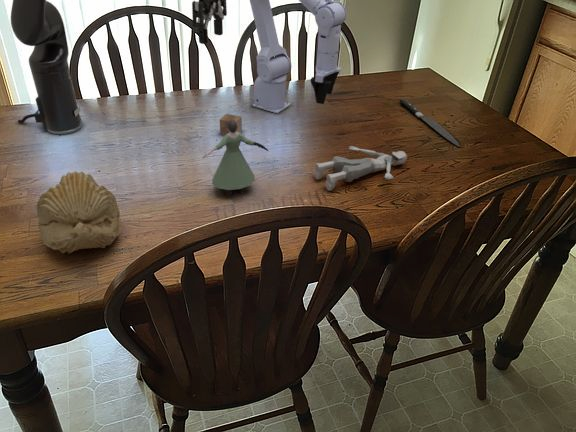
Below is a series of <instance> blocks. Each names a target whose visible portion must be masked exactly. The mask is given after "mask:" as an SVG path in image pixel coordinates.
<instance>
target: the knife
mask: <svg viewBox="0 0 576 432" xmlns="http://www.w3.org/2000/svg"><path fill="white" fill-rule="evenodd" d="M398 101H399V103H400V104H402V105H403V106H404V107H405V108H406V109H407V110H409V111H410V112H411V113H412V114H413V115H414V116H416V118H418V119H421V120H422V121H423V122H425V123H426V124H427V125H428V126H429V127H430V128H432V129H433V130H434V131H435V132H436V133H438V134H439V135H441V136H442V137H443V138H445V139H446V140H447V141H449V143H451V144H453V145H455V146H457V147H461V145H460V143H459V142H458V141H457V140H456V138H455V137H454V136H453V135H452V134H450V132H448V130H446V129H445V128H444V127H443V126H441V125H440V124H439V123H438V122H437V121H436V120H435V119H433V118H432V117H430V116H429V117H428V116H425V115H424V114H423V113H422V112H421V111H420V110H419V109H418V108H417V107H415V106H414V105H413V104H412V103H411V101H410V100H408V99H404V98H399V99H398Z"/></svg>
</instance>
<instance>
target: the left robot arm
mask: <svg viewBox="0 0 576 432" xmlns="http://www.w3.org/2000/svg"><path fill="white" fill-rule="evenodd" d="M227 8H228V7H227V0H198V1H197V0H196V1H194V0H193V1H192V2H191V13H192V16H191V17H192V27H193V28H196V29H197V30H198V43H199V44H201V45H208V43H209V30H208V27H209V22H211V21H212V18H213V33H214V35H216V36H222V35H223V33H224V27H223V26H224V24H223V21H224V19H225V17H227V15H228V11H227ZM10 26H11V29H12V32H13V34H14V36H15V38H16V39H17V40H18V41H19V42H20V43H21V44H23V45H25V46H28V47H33V49H32V52H31V54H30V55H29V57H28V65H29V68H30V72H31V76H32V80H33V83H34V86H35V91H36V94H37V96H36V97H35V104H36V106H37V110H36V112H34V113H31V114H27V115H24V116H23V117H22V118H21V119H18V120H17V123H19V124H22V123H25V122H26V120H27V119H30V118H34V121H35V123H36V124H41V125H42V128H43V131H44V132H48V133H49V134H53V135H67V134H72V133H74V132H77V131H79V130H80V129H81V128H82V126H83V121H82V119H81V118H82V117H81V115H80V113H81V111H82V110H81V106H80V105H78V101H77V97H76V92H75V88H74V84H73V83H74V82H73V80H72V76H71V75H72V74H71V70H70V67H69V61H68V59H69V54H70V53H69V45H68V39H67V34H66V28H65V23H64V20H63V17H62V15H61V13H60V11H59V9H58V8H57V6H55V5H54V4H53V3H52V2H50V1H48V0H12V3H11V10H10Z"/></svg>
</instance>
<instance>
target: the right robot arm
mask: <svg viewBox="0 0 576 432" xmlns="http://www.w3.org/2000/svg"><path fill="white" fill-rule="evenodd" d="M298 2H300V3H301V4H302V6H304V7H305V8H306V9H307V10H308V11H309V12H310V13H311V14H312V15H313V16H314V19H315V20H314V21H315V23H316V25H317V32H318V36H317V37H318V38H317V51H316V65H315V76H312V77H311V78H310V84H311V86H312V89H313V92H314V96H315V102H316V104H320V105H324V104H325V102H326V99H327V95H332V93H333V90H334V86H335V83H336V80H337V77H338V76H339V74H340V72H341V71H342V67H339V66H338V61H339V50H340V40H341V31H342V30H341V28H342V24H343V23H345V21H346V20H347V10H346V7H345V6H344V5H343V3H342V2H341V1H340V0H339V1H338V0H335V1H334V0H298ZM249 3H250V7H251V12H252V16H253V20H254V21H253V22H254V24H255V29H256V33H257V37H258V43H259V46H260V51H259V52H258V53H257V55H256V58H255V60H256V73H257V77H256V79H255V80H254V85H253V103H252V107H254V108H258V109H261V110H265V111H267V112H271V113H275V114H279V113H281V112H282V111H284V110H285V109H287V108H288V107H290V106H291V103H289V102H286V89H287V88H286V86H287V79H288V75H289V74H290V73H291V71H292V61H291V59H290V57H289V56H288V54H287V49H286V48H285V47H284V46H282V45H280V42H279V38H278V37H279V36H278V33H277V29H276V25H275V19H274V16H273V11H272V6H271V2H270V0H249Z"/></svg>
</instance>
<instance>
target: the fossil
mask: <svg viewBox="0 0 576 432" xmlns="http://www.w3.org/2000/svg"><path fill="white" fill-rule="evenodd" d="M36 214H37V216H36V217H37V218H38V219H37V220H38V229H39V236H40V238H41V240H42V243H43V245H45V246H46V247H48V248H50V249H52V250H54V251H59V252H60V253H62V254H65V253H67V254H72V253H73V252H76V251H78V250H83V249H84V250H86V249H93V248H94V249H97V248H103V249H104V248H106V246H111V245H112V244H113V242H114V241H116V238H117V237H119V235H120V233H121V231H122V222H121V220H120V217H121V215H120V209H119V205H118V203H117V199H116V196H115V195H114V193H113V192H112V191H110V190H108V188H106V186H105V185H103V184H100V185H99V184H98V183H97V182H96V181H95V179H94V177H93V175H91V174H90V173H86V174H85V173H84V172H83V171H79V172H77V171H76V170H75V171H73V172H70V171H67V173H66V175H64V174H63V175H62V176H61V177H60V180H59V183H57V184H56V185H55V187H53V186H49V188H48V190H46V192H43V193H41V194H40V195H39V198H38V201H37V203H36Z"/></svg>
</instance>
